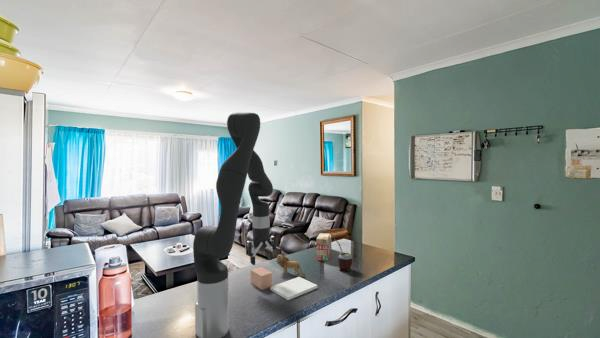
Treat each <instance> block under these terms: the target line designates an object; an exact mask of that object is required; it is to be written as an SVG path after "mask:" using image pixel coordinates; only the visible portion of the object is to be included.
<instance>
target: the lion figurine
mask: <svg viewBox="0 0 600 338" xmlns="http://www.w3.org/2000/svg"><path fill="white" fill-rule="evenodd" d="M275 262H276V264H277V265H278V266H280V268H282V269H283V273H282V275H283V274H284V275H287V272H288V269H293V270H294V272H295V275H297V277H301V275H302V276H306V274H305V273H303V271H302V267H301V265H300V263H299V262H298V261H296V260H289V258H288V257H286V256H285V255H284V254H278V255H276V260H275Z"/></svg>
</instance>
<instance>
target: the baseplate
mask: <svg viewBox="0 0 600 338" xmlns="http://www.w3.org/2000/svg"><path fill="white" fill-rule="evenodd" d="M269 288H270V289H269V290H270V291H272V292H273V293H275V294H276V295H278V296H280V297H281V298H283V299H284V300H287V301H291V300H293V299H294V298H297V297H299V296H302V295H304V294H307V293H309V292H311V291H314V290H316V289H318V284H315V283H313V282H311V281H309V280H307V279H305V278H303V277H301V276H300V277H298V276H297V277H294V278H292V279H289V280H286V281H283V282H280V283H277V284H275V285H272V286H271V287H269Z"/></svg>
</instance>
